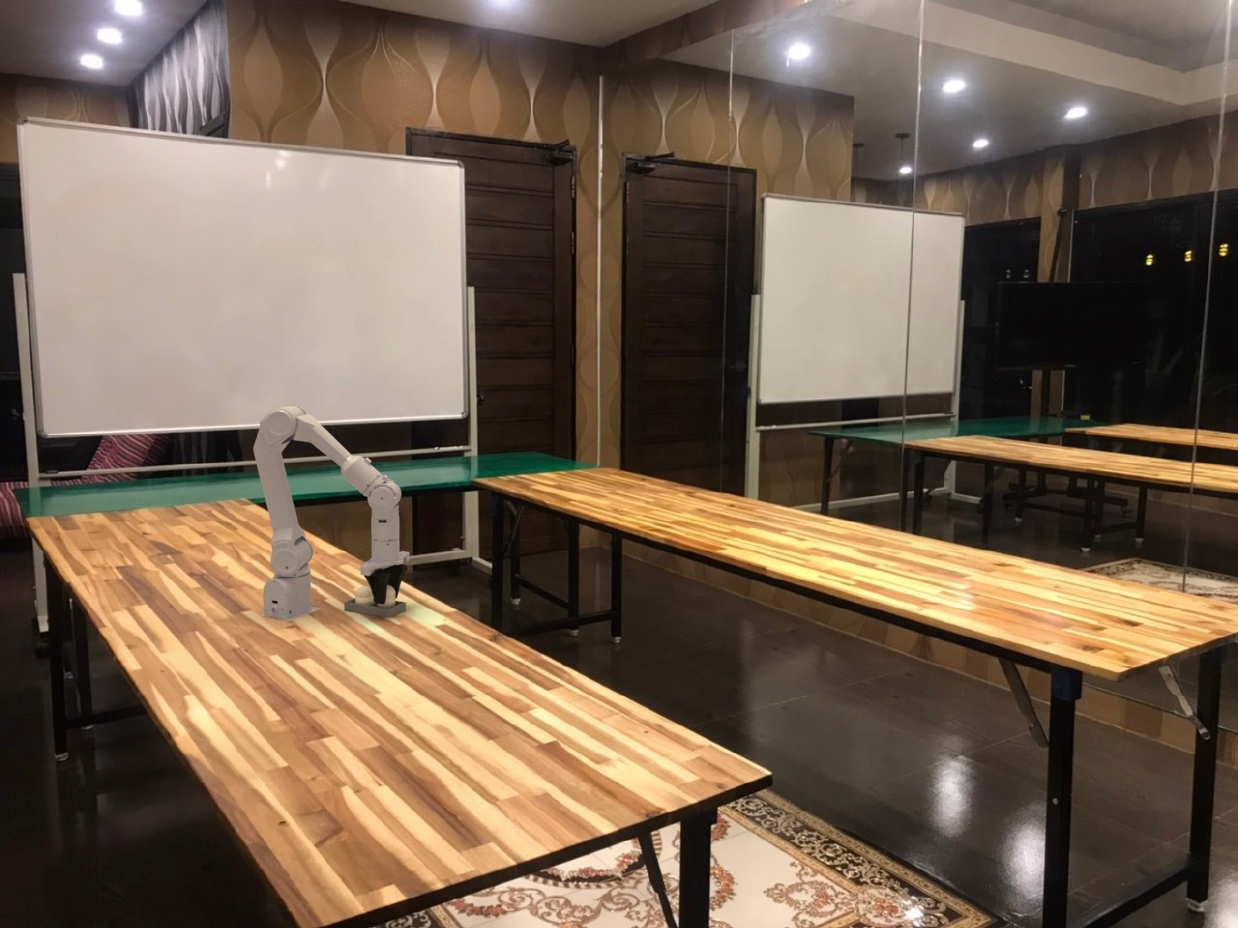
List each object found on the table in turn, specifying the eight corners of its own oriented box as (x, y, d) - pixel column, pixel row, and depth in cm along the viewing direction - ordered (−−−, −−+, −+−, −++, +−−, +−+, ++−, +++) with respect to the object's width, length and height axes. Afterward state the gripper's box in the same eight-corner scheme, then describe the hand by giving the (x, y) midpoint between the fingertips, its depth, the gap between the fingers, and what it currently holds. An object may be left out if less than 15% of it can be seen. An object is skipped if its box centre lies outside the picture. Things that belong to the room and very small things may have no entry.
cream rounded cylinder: (388, 610, 196) (388, 588, 196) (373, 608, 198) (373, 586, 197) (399, 606, 200) (398, 583, 199) (384, 603, 201) (384, 581, 201)
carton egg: (366, 612, 199) (366, 589, 198) (351, 609, 200) (351, 587, 199) (377, 607, 202) (376, 585, 201) (362, 605, 204) (362, 583, 203)
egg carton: (389, 619, 195) (389, 609, 195) (344, 612, 200) (344, 602, 199) (405, 612, 201) (405, 602, 200) (361, 605, 205) (361, 595, 205)
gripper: (380, 547, 189) (380, 612, 191) (421, 533, 202) (421, 594, 204) (351, 543, 191) (352, 607, 193) (393, 530, 205) (394, 590, 206)
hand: (386, 600), depth 199 cm, fingers closed on cream rounded cylinder, 4 cm apart
